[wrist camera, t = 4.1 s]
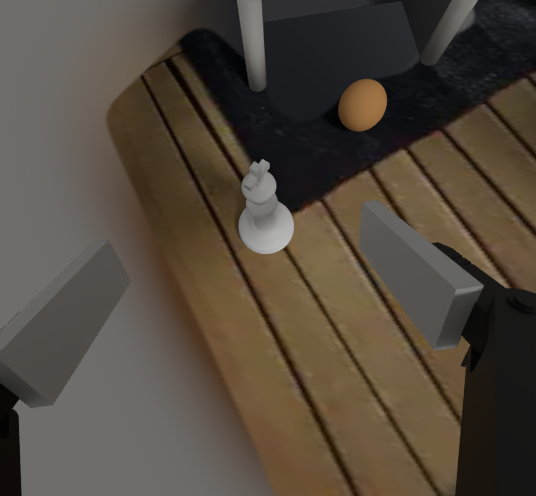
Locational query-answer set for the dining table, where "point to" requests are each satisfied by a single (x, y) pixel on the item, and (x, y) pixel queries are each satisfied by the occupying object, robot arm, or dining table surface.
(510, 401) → the robot arm
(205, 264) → the dining table surface
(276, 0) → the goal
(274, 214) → the chess piece
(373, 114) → the ball
